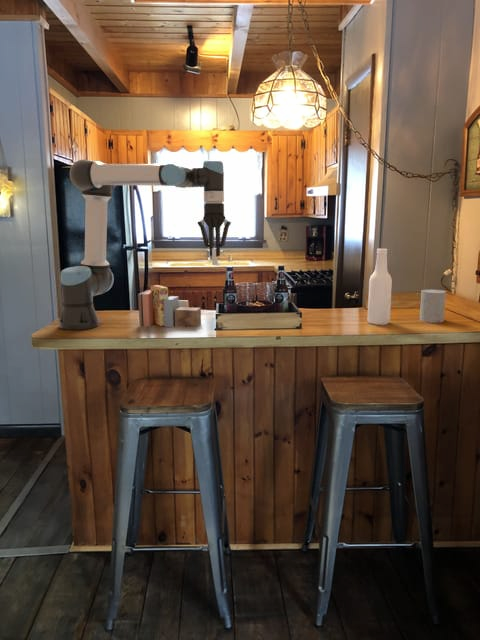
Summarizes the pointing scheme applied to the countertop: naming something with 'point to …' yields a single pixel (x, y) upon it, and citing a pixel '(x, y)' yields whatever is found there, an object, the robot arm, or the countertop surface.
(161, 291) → the candy box
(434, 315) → the grey cylinder
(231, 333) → the countertop surface
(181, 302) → the book rack
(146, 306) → the shelved books
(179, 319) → the walnut block
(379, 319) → the alcohol
